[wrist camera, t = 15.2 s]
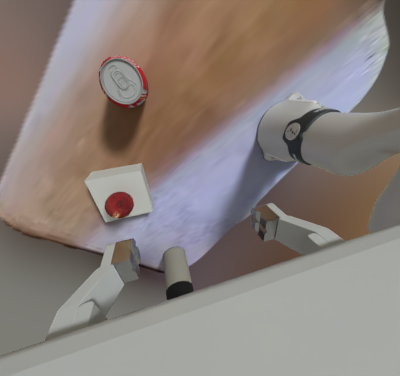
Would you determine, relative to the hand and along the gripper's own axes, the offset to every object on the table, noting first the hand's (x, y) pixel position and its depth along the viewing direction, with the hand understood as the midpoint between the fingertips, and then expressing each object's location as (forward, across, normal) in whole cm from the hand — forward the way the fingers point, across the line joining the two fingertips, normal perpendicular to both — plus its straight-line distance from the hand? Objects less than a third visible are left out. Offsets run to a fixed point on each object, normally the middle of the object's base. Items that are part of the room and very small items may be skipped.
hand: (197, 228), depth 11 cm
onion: (+29, +13, +12) cm, 34 cm away
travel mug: (+34, +5, +43) cm, 55 cm away
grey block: (+34, +13, +12) cm, 38 cm away
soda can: (+34, +5, -10) cm, 36 cm away
